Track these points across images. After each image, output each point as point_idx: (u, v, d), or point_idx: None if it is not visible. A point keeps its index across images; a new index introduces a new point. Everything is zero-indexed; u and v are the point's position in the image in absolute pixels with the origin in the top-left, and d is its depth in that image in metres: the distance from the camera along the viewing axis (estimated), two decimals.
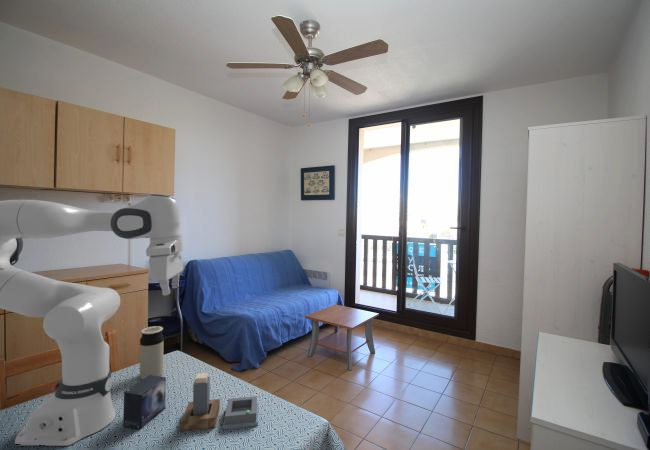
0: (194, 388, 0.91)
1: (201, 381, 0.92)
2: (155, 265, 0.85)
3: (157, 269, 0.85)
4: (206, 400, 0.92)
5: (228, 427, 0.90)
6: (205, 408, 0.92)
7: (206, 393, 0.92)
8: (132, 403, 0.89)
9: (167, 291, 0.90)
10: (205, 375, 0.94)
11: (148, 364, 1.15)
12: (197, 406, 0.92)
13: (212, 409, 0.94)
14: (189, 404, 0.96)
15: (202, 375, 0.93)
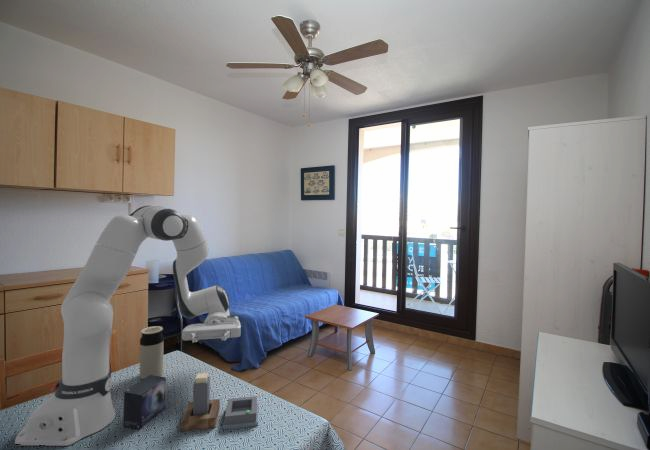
0: (194, 388, 0.91)
1: (201, 381, 0.92)
2: None
3: None
4: (206, 400, 0.92)
5: (228, 427, 0.90)
6: (205, 408, 0.92)
7: (206, 393, 0.92)
8: (132, 403, 0.89)
9: (225, 338, 1.07)
10: (205, 375, 0.94)
11: (148, 364, 1.15)
12: (197, 406, 0.92)
13: (212, 409, 0.94)
14: (189, 404, 0.96)
15: (202, 375, 0.93)
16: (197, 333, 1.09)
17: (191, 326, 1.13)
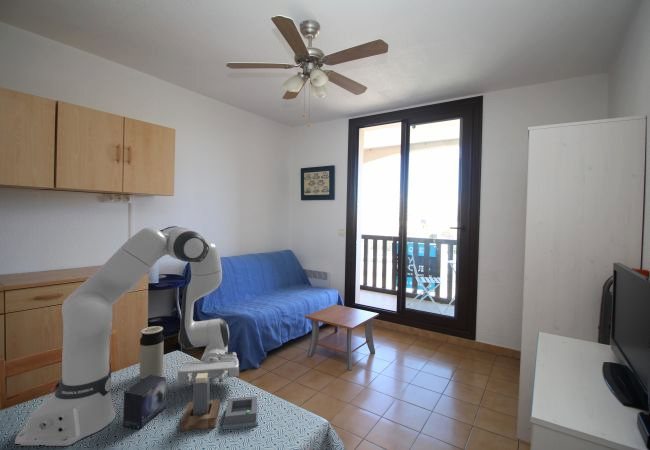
0: (194, 388, 0.91)
1: (201, 381, 0.92)
2: None
3: None
4: (206, 400, 0.92)
5: (228, 427, 0.90)
6: (205, 408, 0.92)
7: (206, 393, 0.92)
8: (132, 403, 0.89)
9: (223, 379, 1.04)
10: (205, 375, 0.94)
11: (148, 364, 1.15)
12: (197, 406, 0.92)
13: (212, 409, 0.94)
14: (189, 404, 0.96)
15: (202, 375, 0.93)
16: (194, 373, 1.06)
17: (187, 365, 1.09)
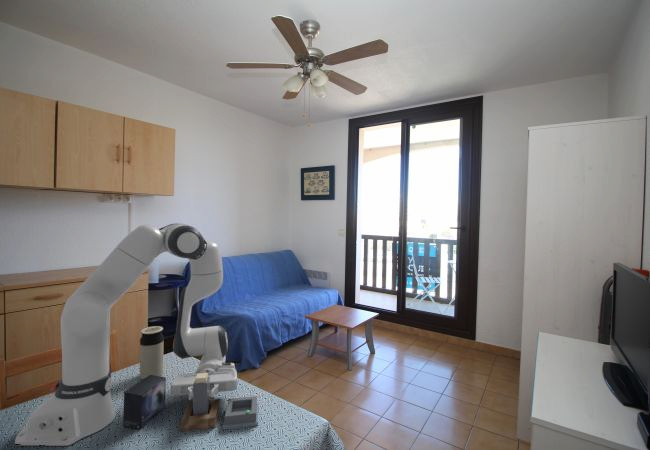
0: (194, 388, 0.91)
1: (201, 381, 0.92)
2: None
3: None
4: (206, 400, 0.92)
5: (228, 427, 0.90)
6: (205, 408, 0.92)
7: (206, 393, 0.92)
8: (132, 403, 0.89)
9: (213, 395, 0.95)
10: (205, 375, 0.94)
11: (148, 364, 1.15)
12: (197, 406, 0.92)
13: (212, 409, 0.94)
14: (189, 404, 0.96)
15: (202, 375, 0.93)
16: (188, 387, 0.97)
17: (181, 377, 1.00)
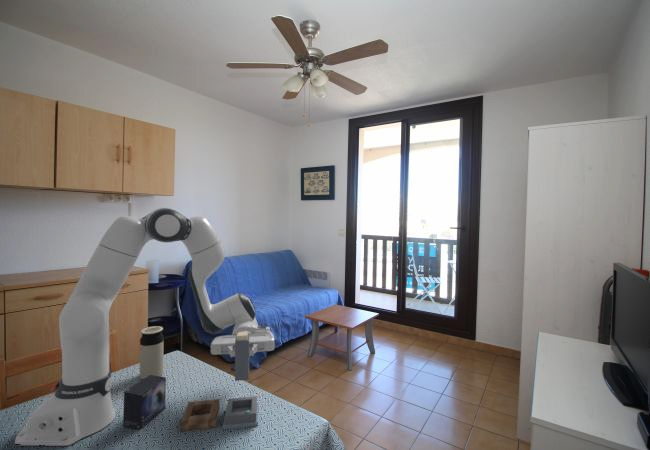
0: (236, 345, 0.93)
1: (242, 338, 0.93)
2: None
3: None
4: (247, 357, 0.93)
5: (228, 427, 0.90)
6: (246, 365, 0.93)
7: (247, 350, 0.93)
8: (132, 403, 0.89)
9: (253, 353, 0.96)
10: (246, 333, 0.95)
11: (148, 364, 1.15)
12: (239, 363, 0.93)
13: (212, 409, 0.94)
14: (189, 404, 0.96)
15: (243, 334, 0.95)
16: (227, 346, 0.98)
17: (220, 338, 1.01)
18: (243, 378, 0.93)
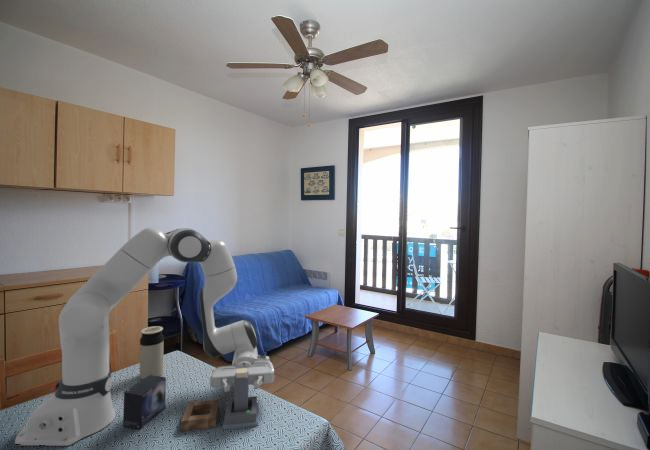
0: (235, 383, 0.93)
1: (242, 376, 0.94)
2: None
3: None
4: (247, 394, 0.94)
5: (228, 427, 0.90)
6: (246, 402, 0.93)
7: (247, 388, 0.93)
8: (132, 403, 0.89)
9: (258, 386, 0.96)
10: (245, 370, 0.95)
11: (148, 364, 1.15)
12: (238, 400, 0.93)
13: (212, 409, 0.94)
14: (189, 404, 0.96)
15: (242, 370, 0.95)
16: (227, 379, 0.98)
17: (219, 370, 1.01)
18: None
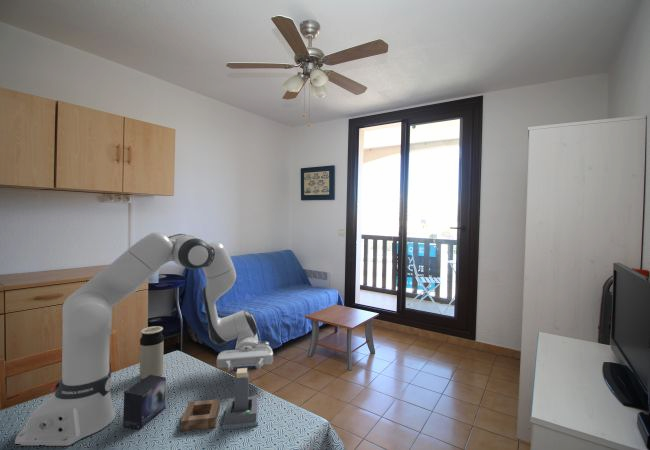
0: (235, 383, 0.93)
1: (242, 376, 0.94)
2: None
3: None
4: (247, 395, 0.94)
5: (228, 427, 0.90)
6: (246, 402, 0.93)
7: (247, 388, 0.93)
8: (132, 403, 0.89)
9: (260, 366, 1.09)
10: (245, 370, 0.95)
11: (148, 364, 1.15)
12: (238, 400, 0.93)
13: (212, 409, 0.94)
14: (189, 404, 0.96)
15: (242, 370, 0.95)
16: (231, 361, 1.11)
17: (224, 353, 1.14)
18: None
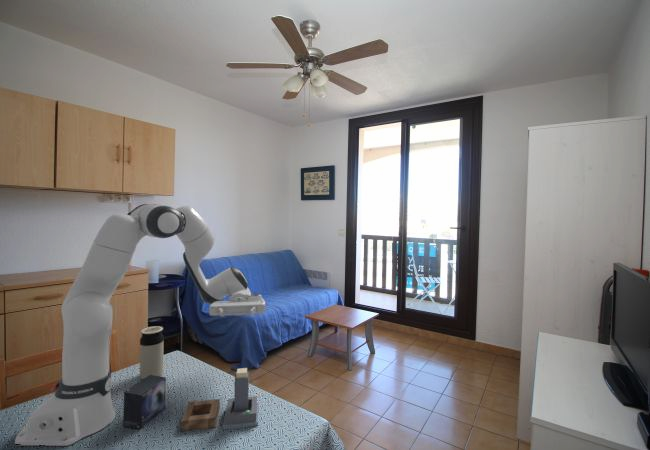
0: (235, 383, 0.93)
1: (242, 376, 0.94)
2: None
3: None
4: (247, 395, 0.94)
5: (228, 427, 0.90)
6: (246, 402, 0.93)
7: (247, 388, 0.93)
8: (132, 403, 0.89)
9: (252, 313, 1.10)
10: (245, 370, 0.95)
11: (148, 364, 1.15)
12: (238, 400, 0.93)
13: (212, 409, 0.94)
14: (189, 404, 0.96)
15: (242, 370, 0.95)
16: (224, 309, 1.12)
17: (217, 302, 1.15)
18: None
